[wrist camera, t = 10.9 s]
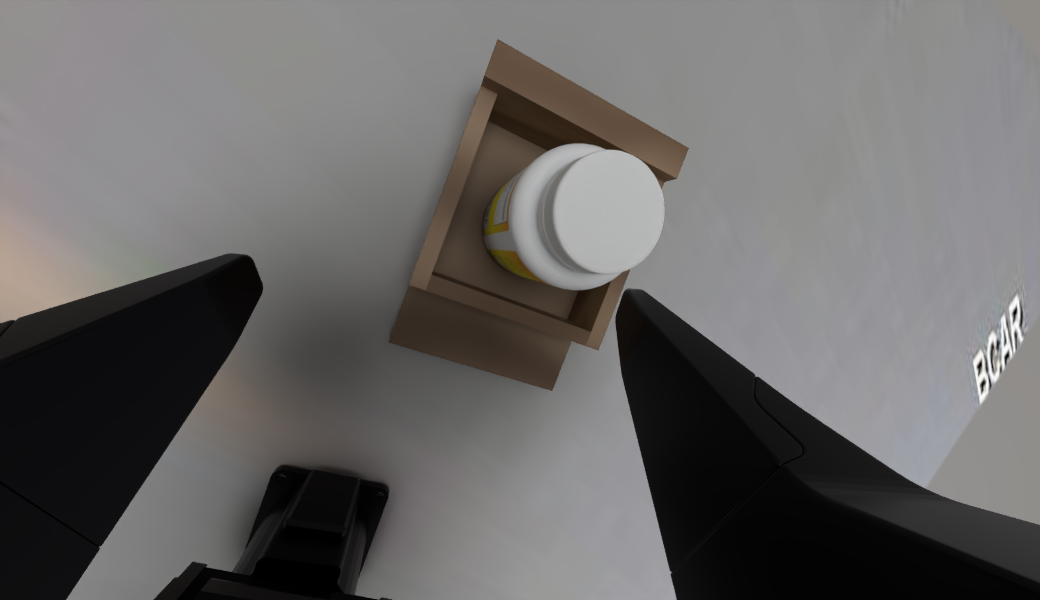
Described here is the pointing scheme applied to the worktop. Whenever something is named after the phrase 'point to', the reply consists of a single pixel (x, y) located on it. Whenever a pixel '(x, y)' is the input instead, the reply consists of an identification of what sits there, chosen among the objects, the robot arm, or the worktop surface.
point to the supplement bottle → (575, 217)
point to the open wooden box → (459, 236)
